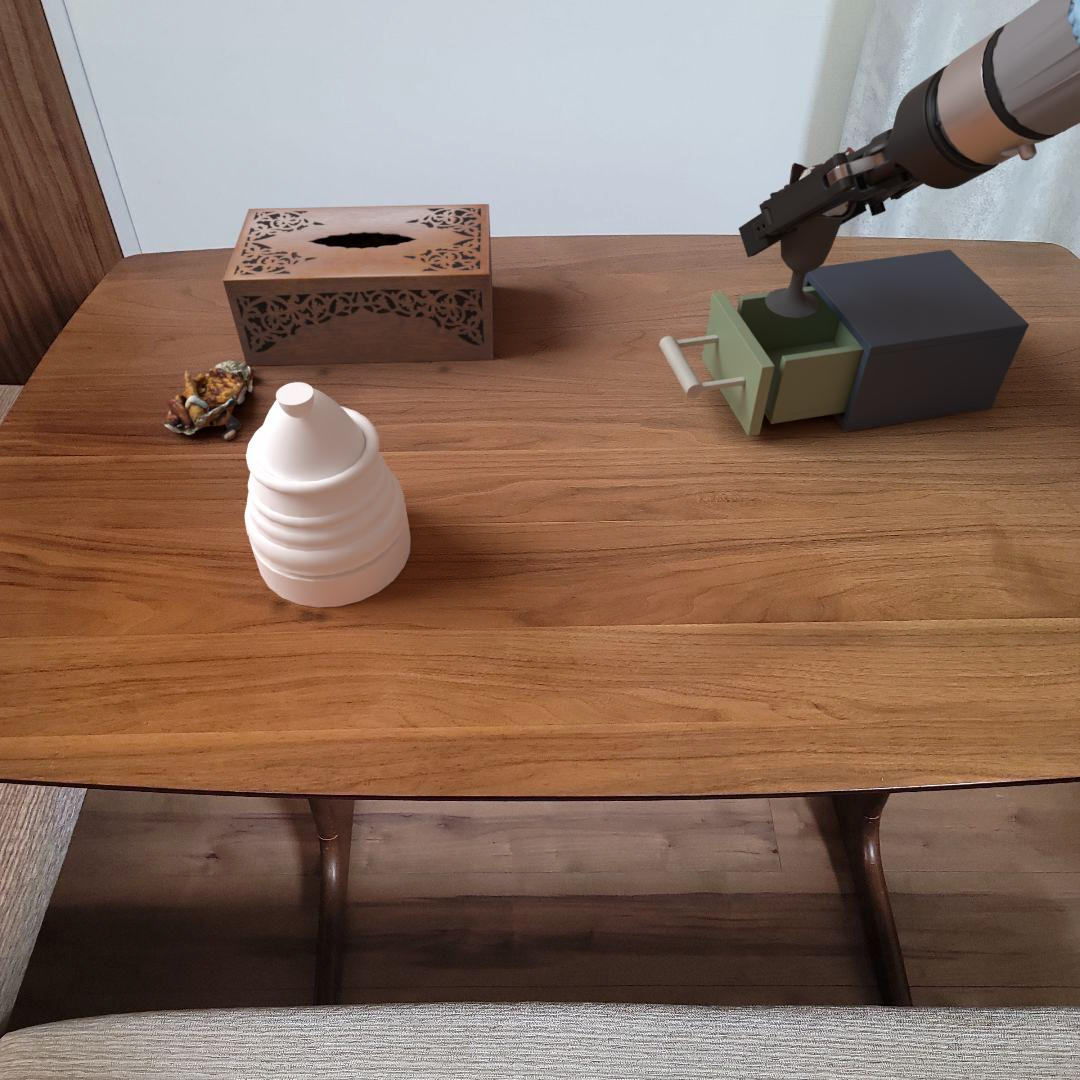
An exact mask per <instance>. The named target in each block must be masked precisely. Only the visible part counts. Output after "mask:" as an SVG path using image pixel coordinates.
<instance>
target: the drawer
mask: <svg viewBox="0 0 1080 1080" xmlns="http://www.w3.org/2000/svg"><path fill="white" fill-rule="evenodd" d="M803 291H805V292H808V293H810V294H811V295H813V296H814V297H815V298H816V299H817V300H818V302H819V310H818V311H817V313H816V314H814V315H812V316H810V317H807V318H800V319H795V318H787V317H783V316H780V315H777V314H776V313H774V312H772V311H771V310H770V309H769V308H768V307H767V305H766V303H765V298H766V296H767V295H768V294H769V293H770V292H771V291H766V292H765V291H764V292H758V293H757V292H756V293H751V294H743V295H740V296H739V298H738V303H737V308H736V307H735V306H734V305H733V303H732V301H731V300H730V299H729V297H728V296H727V294H726V293H725V291H722V290H721V291H714V292H711V297H710V304H709V311H708V316H707V317H708V318H707V323H706V330H705V335H704V336H697V337H696V336H695V337H689V338H682V339H676V338H675V337H674V336H673V335H665V336H664V337H662V338H661V339H660V340H659V348H660V350H661V351H662V353H663V355H664V357H665V358H666V360H667V362H668V364H669V366H670V368H671V370H672V371H673V373H674V375H675V377H676V378H677V380H678V382H679V384H680V385H681V387H682V389H683V391H684V393H685V395H686V396H687V398H689V399H697V398H699V397H700V396H701V395H702V394H703V392H708V391H714V390H720V392H721V394H722V395H723V397H724V398H725V399H724V400H725V401H726V402H727V403H728V405H729V407H730V408H731V411H732V412H733V414H734V415H735V417H736V419H737V421H738V422H739V424H740V426H741V428H742V429H743V430H744V432H745V434H746V435H747V437H753V436H759V435H760V433H761V429H762V425H763V421H764V416H765V417H766V418H767V420H768V421H769V423H770V425H773V424H779V423H786V422H791V421H798V420H804V419H805V420H806V419H810V418H817V417H823V416H829V415H832V414H836V413H843V412H846V409H847V405H848V402H849V399H850V395H851V392H852V389H853V385H854V382H855V379H856V375H857V372H858V369H859V366H860V362H861V359H862V356H863V352H864V349H863V348H862V347H861V345H860V344H859V343H858V342H857V340H856V339H855V338H854V337H853V336H852V334H851V333H850V332H849V331H848V329H847V328H846V327H845V326H844V325H843V323H842V322H841V321H840V320H839V318H838V317H837V316H836V315H835V313H834V312H833V311H832V310H831V309H830V307H829V306H828V305H827V304H826V302H825V301H824V300H823V299H822V298H821V296H820V295H819V294H818V293H817V291H816V290H815V289H814V288H813V286H809V287H803ZM696 346H703V350H702V358H701V360H702V362H703V364H704V366H705V367H706V369H707V370H708V372H709V374H710V375H711V378H712V379H713V380H712V381H704V382H701V381H700V379H699V378H698V376H697V374H696V373H695V371H694V369H693V368H692V366H691V364H690V363H689V361H688V359H687V357H686V356H685V354H684V353H683V350H682V348H689V347H696Z"/></svg>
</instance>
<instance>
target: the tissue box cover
mask: <svg viewBox="0 0 1080 1080" xmlns="http://www.w3.org/2000/svg"><path fill="white" fill-rule="evenodd" d="M222 283H223V286H224V290H225V293H226V297H227V300H228V305H229V308H230V311H231V314H232V318H233V322H234V326H235V329H236V334H237V336H238V340H239V344H240V347H241V351H242V354H243V357H244V361H245V364H246V365H247V366H249V367H251V366H253V367H254V366H286V365H290V366H291V365H292V366H293V365H327V364H328V365H330V364H331V365H332V364H333V365H334V364H369V363H402V362H403V363H408V362H411V363H412V362H413V363H415V362H449V361H453V362H454V361H489V360H492V361H493V360H494V315H493V314H494V313H493V312H494V311H493V310H494V309H493V307H494V306H493V305H494V304H493V303H494V302H493V299H494V298H493V265H492V246H491V221H490V203H471V204H470V203H469V204H468V203H467V204H465V203H464V204H424V205H423V204H422V205H421V204H420V205H419V204H418V205H416V204H415V205H414V204H413V205H375V206H374V205H372V206H371V205H369V206H365V205H364V206H327V207H326V206H322V207H321V206H319V207H281V208H280V207H275V208H273V207H272V208H248V210H247V213H246V216H245V218H244V221H243V224H242V226H241V230H240V232H239V235H238V237H237V241H236V243H235V245H234V248H233V251H232V254H231V256H230V260H229V262H228V265H227V268H226V270H225V273H224V276H223V278H222Z"/></svg>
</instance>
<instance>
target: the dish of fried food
mask: <svg viewBox="0 0 1080 1080" xmlns="http://www.w3.org/2000/svg"><path fill="white" fill-rule="evenodd" d="M254 375H255V374H254V371H253V369H252V367H251V366H247V365H246V362H245V363H244V362H240V361H235V360H227V361H223V362H220V363H218V364H215V367H212V368H210V369H209V371H206V374H202V373H199V374H197V376H196V377H194V378H193V379H192V377H193V376H192V375H191V374H190V373H189V372H188V371H187V370H185V371H184V376H183V382H184V391H183V392H182V394H177V395H176V396H175V398H170V399H169V400H168V401H167V402H166V405H167V407H168V412H167V416H166V418H165V420H164V427H166V428H168V430H169V431H171V432H172V433H178V434H179V433H183V434H185V435H188V436H189V435H193V434H195V432H197V431H199V430H200V429H201V430H202V428H204V427H205V428H206V427H212V428H213V427H216V426H218V427H220V426H223V425H225V427H226V430H224V432H222V434H221V440H222V441H229V440H232V439H234V438H235V437H236V435H237V434H236V433H237V431H238V430H241V428H242V424H241V422H240V420H238V419H237V418H235V417H234V415H232V413H233V410H234V408H235V406H236V405H240V404H242V403H243V402H244V401H245V399H246V398H245V395H246V392H247V391H248V392H249V393H251V394H252V393H253V392H252V391H253V389H254V386H253V379H254V377H255V376H254Z"/></svg>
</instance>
